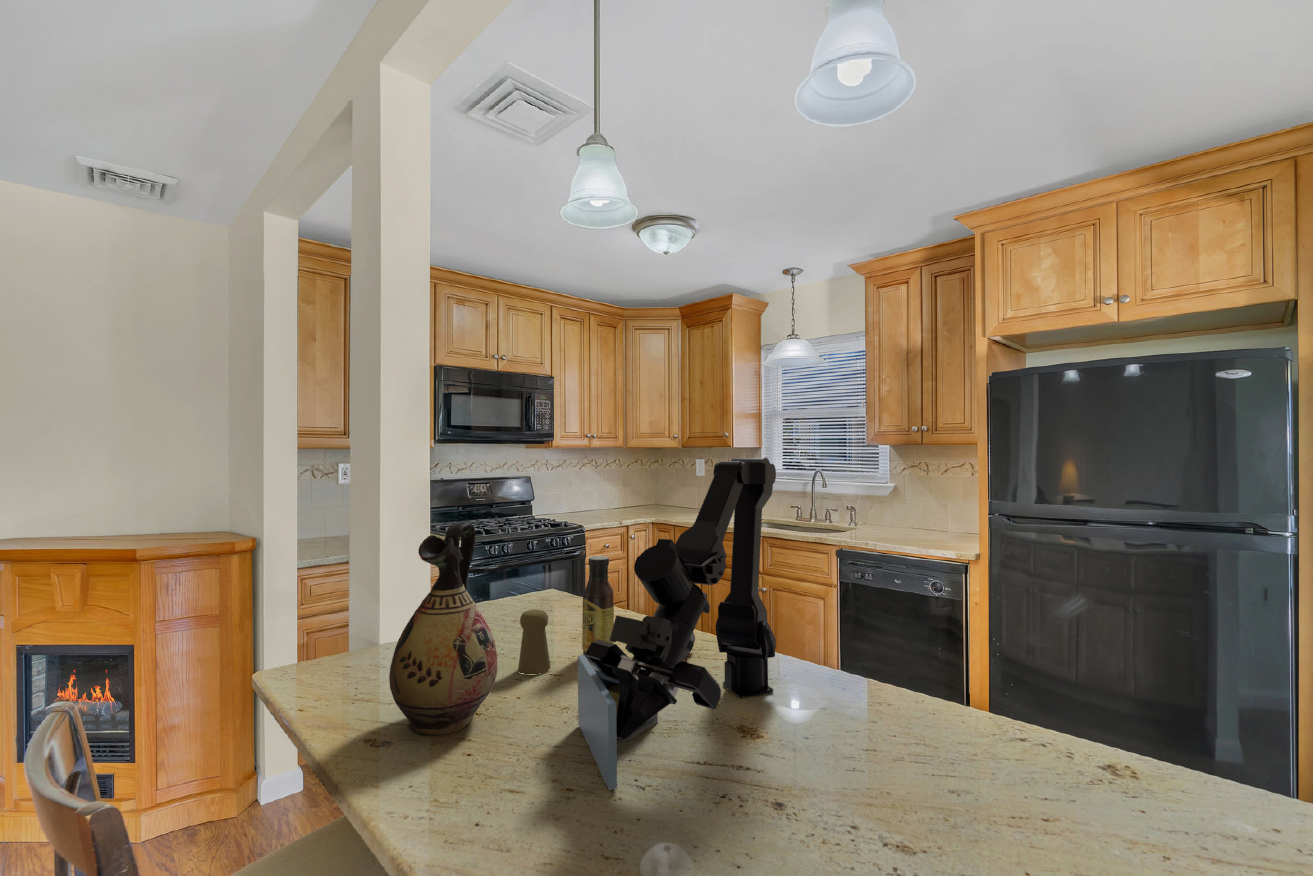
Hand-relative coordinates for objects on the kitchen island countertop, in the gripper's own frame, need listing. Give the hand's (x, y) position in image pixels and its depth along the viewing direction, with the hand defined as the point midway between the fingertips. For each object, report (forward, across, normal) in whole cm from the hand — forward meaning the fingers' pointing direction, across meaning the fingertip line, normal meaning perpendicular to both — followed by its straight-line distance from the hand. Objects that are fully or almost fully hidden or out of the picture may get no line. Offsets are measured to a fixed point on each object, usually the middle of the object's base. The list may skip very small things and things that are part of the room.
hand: (619, 737), depth 73 cm
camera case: (-5, -12, +14) cm, 19 cm away
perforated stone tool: (-24, -23, +34) cm, 48 cm away
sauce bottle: (-18, -36, +28) cm, 49 cm away
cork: (-10, -41, +19) cm, 46 cm away
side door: (+1, -8, +7) cm, 11 cm away
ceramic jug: (+6, -34, +3) cm, 35 cm away
